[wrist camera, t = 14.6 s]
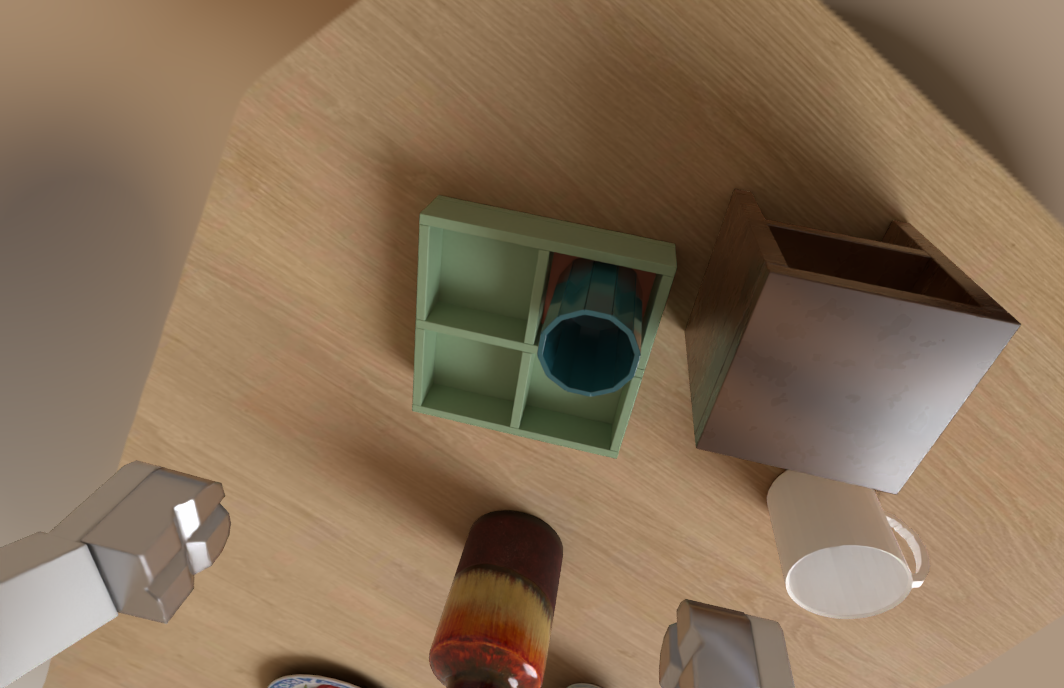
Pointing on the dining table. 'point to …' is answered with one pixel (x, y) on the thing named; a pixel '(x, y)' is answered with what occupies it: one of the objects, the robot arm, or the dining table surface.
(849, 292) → the shelf
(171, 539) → the robot arm
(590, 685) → the chinaware
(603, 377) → the cup
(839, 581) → the mug
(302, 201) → the dining table surface
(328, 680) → the ceramic plate
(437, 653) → the vase
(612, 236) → the tray
